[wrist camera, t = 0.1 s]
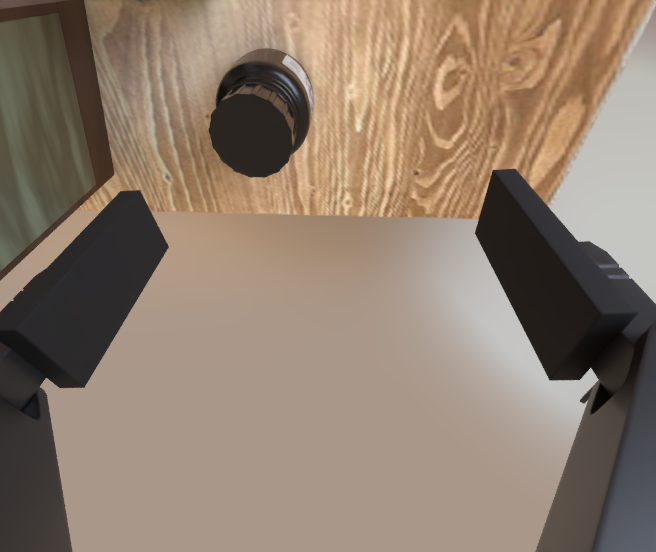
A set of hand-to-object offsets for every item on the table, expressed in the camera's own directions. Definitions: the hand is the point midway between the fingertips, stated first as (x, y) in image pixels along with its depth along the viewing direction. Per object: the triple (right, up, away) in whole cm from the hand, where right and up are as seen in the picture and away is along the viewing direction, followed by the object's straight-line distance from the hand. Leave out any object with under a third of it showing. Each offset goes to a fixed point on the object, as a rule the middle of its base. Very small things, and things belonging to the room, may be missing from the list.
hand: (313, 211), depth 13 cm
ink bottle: (-5, +17, +23) cm, 29 cm away
